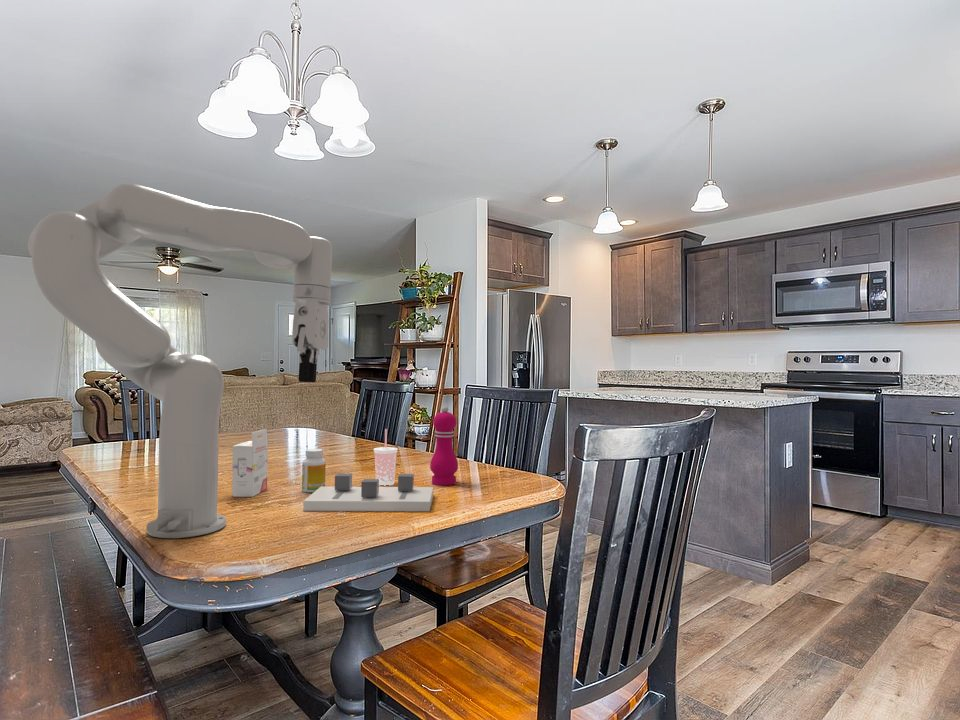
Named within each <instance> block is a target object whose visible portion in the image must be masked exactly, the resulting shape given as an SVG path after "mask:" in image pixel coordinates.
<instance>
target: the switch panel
mask: <svg viewBox="0 0 960 720" xmlns="http://www.w3.org/2000/svg"><path fill="white" fill-rule="evenodd" d="M433 498H434V487H433V486H414V488H413V491H398V486H379V494H378V496H377V497H361V486H352V488H351V489H350V490H349V491H339V490H335V486H325V487H324V486H321V487H320V488H319V489H317V490H316V491H315V492H311V494H310V495H308V496H307V497H306V498H305V499H304V500H303V502H302V503H303V505H302V506H303V508H302V509H303V510H302V511H305V512H349V511H350V512H430V511H431V508H430V507H432V502H433Z"/></svg>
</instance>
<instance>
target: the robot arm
mask: <svg viewBox="0 0 960 720" xmlns="http://www.w3.org/2000/svg"><path fill="white" fill-rule="evenodd" d="M140 238H145V239H149V240H154V241H158V242H163V243H168V244H172V245H175V246H180V247H184V248H188V249H193V250H196V251H201V252H213V253H214V252H215V253H216V252H218V253H219V252H228V251H229V252H230V251H242V252H245V251H246V252H253V254H254V257H255V258H256V260H257V261H258V263H260V264H261V265H263V266H265V267H267V268H270V269H281V270H282V269H285V270H294V273H293V275H294V276H293V289H292V291H293V292H292V293H293V294H292V302H293V303H295V305H294V309H293V310H294V311H293V320H292V331H291V333H292V334H291V335H292V336H291V337H292V338H291V340H292V341H291V343H292V345H293V346H294V347H295V348H296V353H298V363H299V364H298V379H297V380H298V382H299V383H316V381H317V365H318V357H319V355H320V350H324V351H325V350H327V349H328V348H329V312H328V311H329V310H328V308H329V307H328V306H329V305H330V302H331V301H330V300H331V284H332V283H331V282H332V266H333V265H332V264H333V263H332V262H333V245H332V243H331V242H330V241H329V240H328V239H325V238H324V237H319V236H314V235H313V236H310V234H309V232H308V231H307V230H306V229H305V228H304V227H302V226H301V225H299V224H297V223H295V222H293V221H289V220H286V219H283V218H281V217H276V216H273V215H269V214H266V213H262V212H261V213H260V212H256V211H249V210H241V209H236V208H235V209H234V208H228V207H224V206H223V207H221V206H214V205H211V204H210V205H209V204H206V203H202V202H199V201H195V200H192V199H188V198H185V197H182V196H179V195H175V194H171V193H167V192H165V191H161V190H158V189H155V188H151V187H148V186H144V185H141V184H137V183H136V184H134V183H122V184H119V185H117V186H115V187H113V188H112V189H111V190H109V191H108V192H107V193H106V194H105V195H104V196H103V197H102V198H100V199H98V200H97V201H95V202H92V203H90V204H89V205H87V206H84V207H82V208H80V209H77V210H76V211H69V210H67V211H66V210H61V211H56V212H53V213H52V212H51V213H50V214H47V215H46V216H45V217H43V218H41V220H39V222H38V223H37V224H36V226H35V227H34V228H33V230H32V231H31V232H30V235H29V237H28V240H27V249H28V253H29V255H30V257H31V258H32V259H31V260H32V268H33V273H34V276H35V280H36V282H37V285H38V287H39V289H40V291H41V293H42V294H43V296H44V297H45V299H46V300H47V301H48V303H49V304H50V305H51V306H52V307H53V308H54V309H55V310H56V311H57V312H58V313H59V314H61V315H62V316H63V317H64V318H65V319H66V320H68V321H69V322H71V324H72V325H74V326H75V327H76V328H78V329H79V330H80V331H82V332H83V333H84V334H85V335H87V337H89V338H91V340H93V341H94V342H95V343H94V344H95V348H96V351H97V352H98V354H99V356H100V357H101V358H102V359H103V361H105V362H106V363H107V364H108V365H109V366H110V367H112V368H113V369H114V370H116V371H117V372H118V373H120V374H121V375H123V376H124V377H125V378H126V379H128V380H129V381H131V382H132V383H134V384H135V385H137V386H138V387H139V388H140V389H142V390H143V391H145V392H146V393H148V394H149V395H151V396H153V398H155V399H156V400H159V401H160V402H162V409H161V414H160V421H159V435H158V437H159V439H158V444H159V445H158V446H159V449H158V487H157V491H158V493H157V517H156V518H155V519H154V520H152V521H149V522H148V523H147V524H146V534H147V535H149V536H151V537H154V538H159V539H181V538H193V537H198V536H203V535H207V534H212V533H214V532H217V531H219V530H221V529H223V528H224V527H225V526H226V525H227V517H225V516H224V515H222V514H218V490H219V489H218V484H219V482H218V479H219V446H220V445H219V436H220V435H219V432H220V431H219V429H220V416H221V415H220V412H221V406H222V401H223V396H224V389H225V388H224V386H225V383H224V376H223V372H222V370H221V369H220V367H219V366H218V365H217V363H216V362H215V361H213V360H212V359H210V358H209V357H207V356H204V355H202V354H195V353H182V352H180V351H179V350H178V349H177V348H176V347H174V346H173V345H172V344H171V343H172V342H171V341H172V340H171V336H170V333H169V332H168V330H167V328H166V327H165V326H164V325H163V324H162V323H161V322H160V321H159V320H157V319H156V318H154V317H153V316H152V315H150V314H149V313H148V312H146V311H145V310H144V309H143V308H141V306H139V305H138V304H136V303H135V302H134V301H132V299H130V298H129V297H128V296H126V295H125V294H124V293H123V292H121V291H120V290H119V289H118V288H117V287H116V286H115V285H114V284H113V283H112V282H111V281H110V279H108V278H107V277H106V275H105V274H104V272H103V269H102V267H101V265H100V259H102V258H104V257H107V256H109V255H111V254H112V253H115V252H116V251H118V250H121V249H122V248H124V247H126V246H127V245H129V244H131V243H133V242H135V241H137V240H138V239H140Z"/></svg>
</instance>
